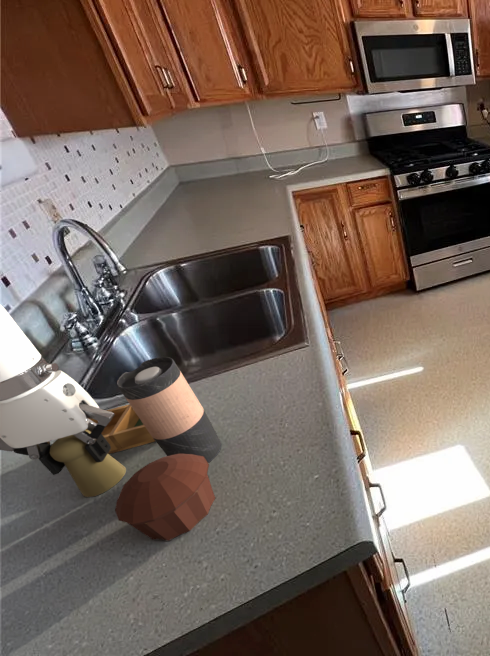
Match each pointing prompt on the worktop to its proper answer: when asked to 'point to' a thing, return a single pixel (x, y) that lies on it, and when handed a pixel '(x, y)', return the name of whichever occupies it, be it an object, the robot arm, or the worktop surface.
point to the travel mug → (169, 409)
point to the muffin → (167, 496)
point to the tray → (125, 430)
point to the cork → (87, 466)
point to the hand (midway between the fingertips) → (82, 460)
